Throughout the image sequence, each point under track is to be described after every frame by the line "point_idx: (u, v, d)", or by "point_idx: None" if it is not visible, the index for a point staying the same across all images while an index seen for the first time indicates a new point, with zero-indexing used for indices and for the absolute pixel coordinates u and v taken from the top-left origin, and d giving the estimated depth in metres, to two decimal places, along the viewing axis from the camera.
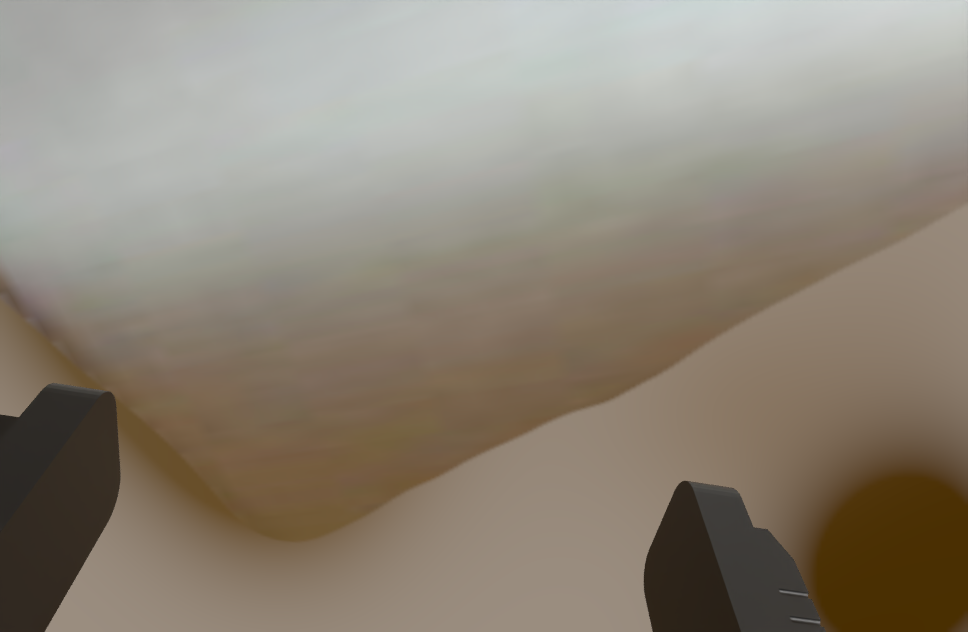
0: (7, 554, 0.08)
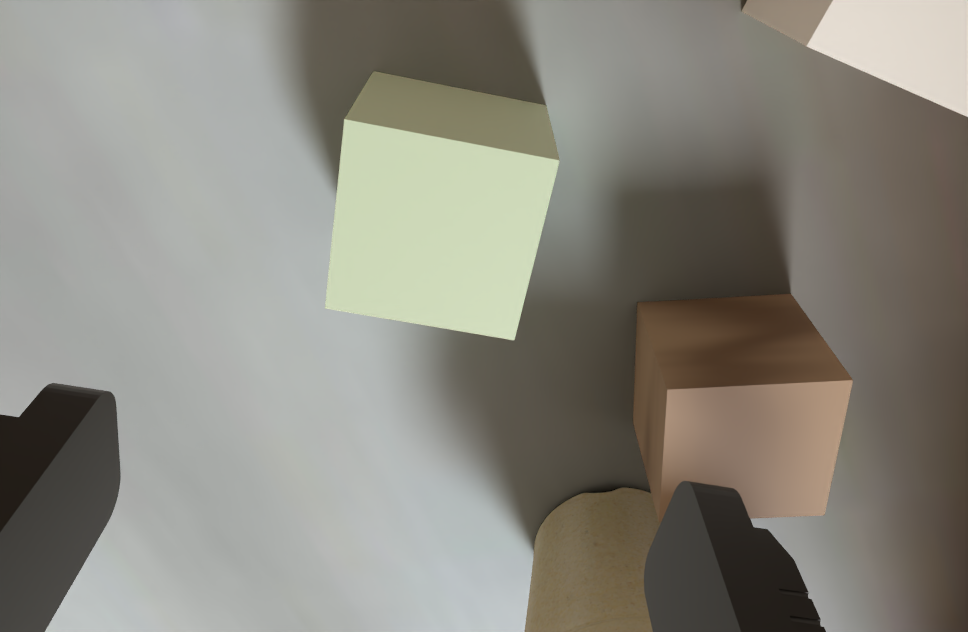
0: (7, 554, 0.08)
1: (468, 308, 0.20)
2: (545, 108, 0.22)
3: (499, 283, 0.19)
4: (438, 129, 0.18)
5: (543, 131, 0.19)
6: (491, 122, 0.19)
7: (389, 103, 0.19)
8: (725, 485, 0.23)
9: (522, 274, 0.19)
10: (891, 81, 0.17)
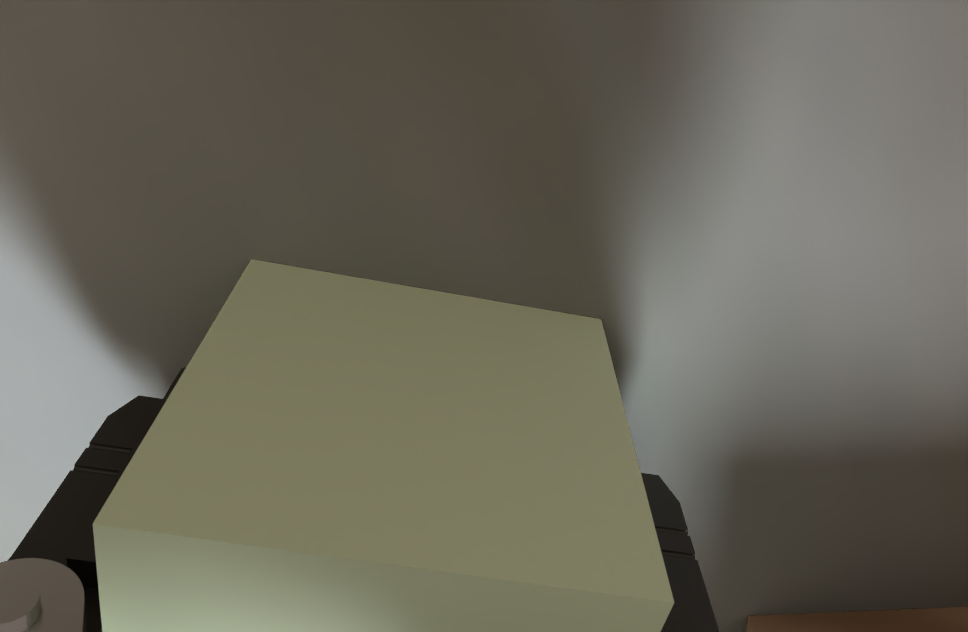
0: None
1: None
2: (601, 332, 0.11)
3: None
4: (359, 509, 0.07)
5: (611, 440, 0.09)
6: (494, 431, 0.08)
7: (253, 397, 0.08)
8: None
9: None
10: None
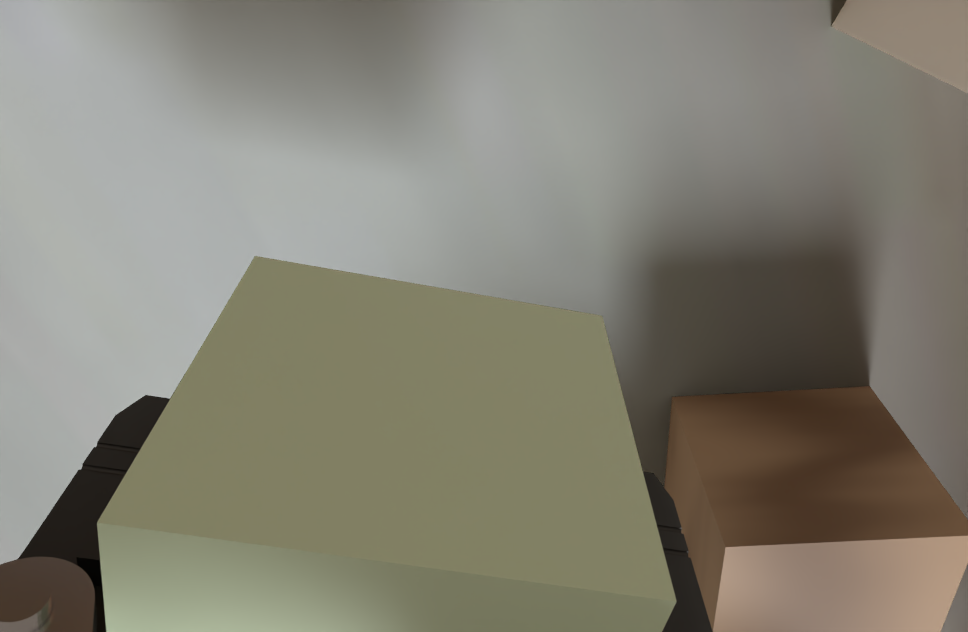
0: None
1: None
2: (603, 332, 0.11)
3: None
4: (363, 507, 0.07)
5: (613, 440, 0.09)
6: (495, 431, 0.08)
7: (256, 397, 0.08)
8: None
9: None
10: None
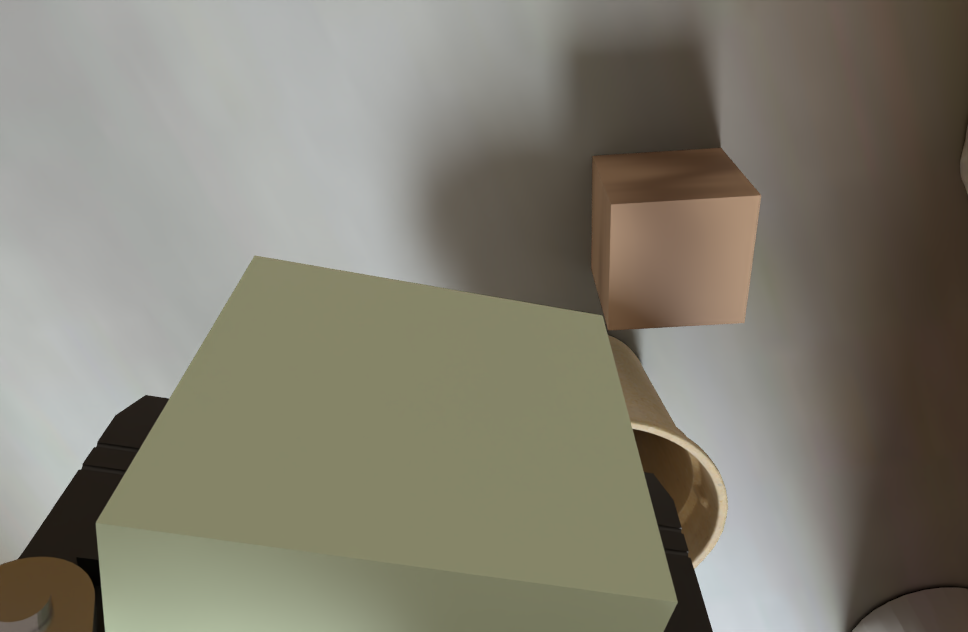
0: None
1: None
2: (603, 332, 0.11)
3: None
4: (362, 508, 0.07)
5: (614, 439, 0.09)
6: (495, 430, 0.08)
7: (256, 395, 0.08)
8: (661, 294, 0.27)
9: None
10: None
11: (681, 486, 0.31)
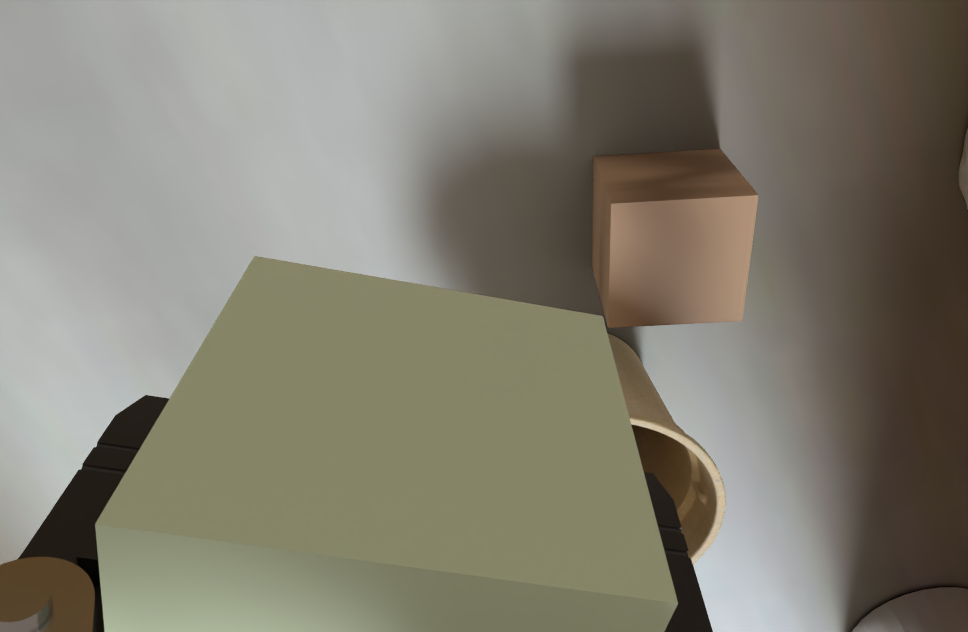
0: None
1: None
2: (604, 332, 0.11)
3: None
4: (363, 509, 0.07)
5: (614, 440, 0.09)
6: (496, 430, 0.08)
7: (255, 397, 0.08)
8: (660, 292, 0.28)
9: None
10: None
11: (680, 483, 0.31)
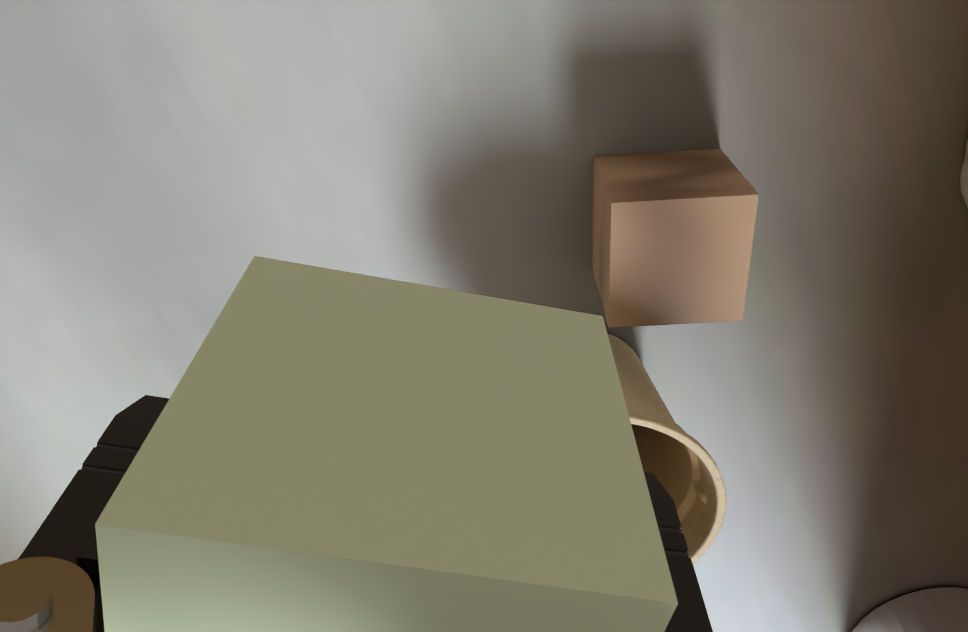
0: None
1: None
2: (604, 332, 0.11)
3: None
4: (363, 509, 0.07)
5: (614, 440, 0.09)
6: (496, 430, 0.08)
7: (255, 397, 0.08)
8: (661, 292, 0.28)
9: None
10: None
11: (681, 482, 0.31)
